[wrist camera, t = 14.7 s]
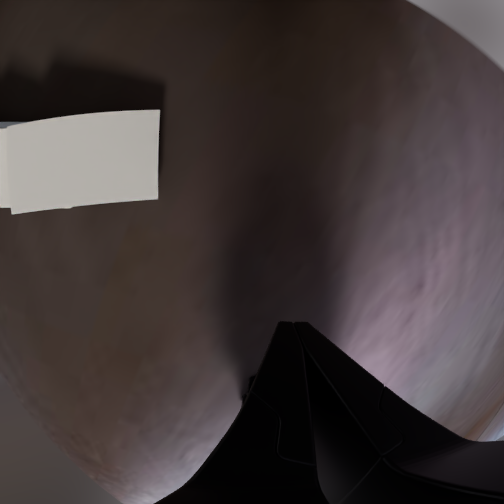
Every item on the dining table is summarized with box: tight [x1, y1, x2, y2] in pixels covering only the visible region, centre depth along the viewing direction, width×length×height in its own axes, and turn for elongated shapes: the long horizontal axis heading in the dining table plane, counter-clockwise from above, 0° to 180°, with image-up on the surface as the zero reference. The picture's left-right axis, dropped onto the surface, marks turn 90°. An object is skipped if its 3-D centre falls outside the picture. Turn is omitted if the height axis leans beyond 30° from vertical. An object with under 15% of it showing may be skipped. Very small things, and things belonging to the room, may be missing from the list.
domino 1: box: [0, 128, 72, 208], centre depth 13 cm, size 2×5×9 cm
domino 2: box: [7, 110, 160, 214], centre depth 14 cm, size 2×5×9 cm
